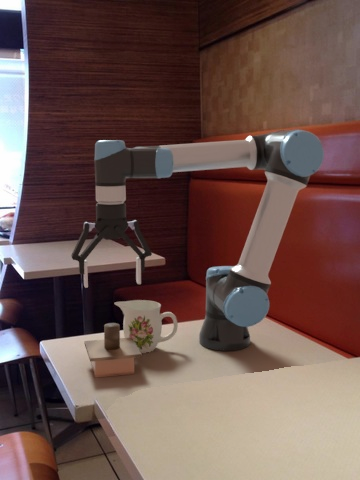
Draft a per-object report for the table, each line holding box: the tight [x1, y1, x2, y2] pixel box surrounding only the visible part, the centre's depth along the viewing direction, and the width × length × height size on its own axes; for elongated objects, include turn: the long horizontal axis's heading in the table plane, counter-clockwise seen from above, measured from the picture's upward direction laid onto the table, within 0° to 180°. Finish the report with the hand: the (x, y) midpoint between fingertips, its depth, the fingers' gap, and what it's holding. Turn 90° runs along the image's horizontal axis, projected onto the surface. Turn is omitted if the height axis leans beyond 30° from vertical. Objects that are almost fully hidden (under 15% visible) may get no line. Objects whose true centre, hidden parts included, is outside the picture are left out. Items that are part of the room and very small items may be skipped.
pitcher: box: [114, 299, 178, 354], centre depth 169 cm, size 11×18×14 cm, turn 92°
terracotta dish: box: [90, 358, 135, 378], centre depth 155 cm, size 10×10×5 cm
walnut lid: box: [84, 322, 143, 363], centre depth 154 cm, size 13×13×7 cm
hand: (112, 284), depth 152 cm, fingers open, 13 cm apart
